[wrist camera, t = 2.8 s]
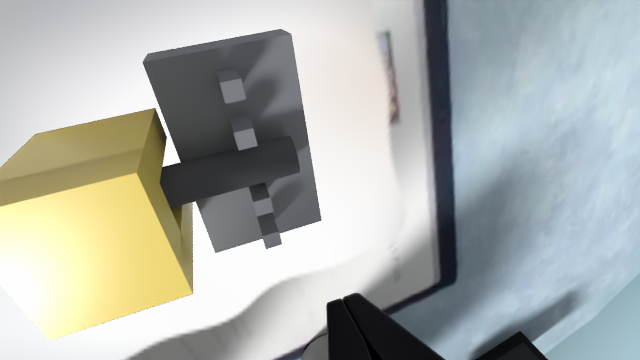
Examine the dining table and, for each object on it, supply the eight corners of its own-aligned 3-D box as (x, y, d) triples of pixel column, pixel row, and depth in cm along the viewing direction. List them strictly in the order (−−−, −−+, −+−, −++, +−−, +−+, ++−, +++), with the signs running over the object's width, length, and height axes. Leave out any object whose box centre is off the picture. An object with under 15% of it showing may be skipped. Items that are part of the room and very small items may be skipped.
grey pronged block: (311, 202, 22) (333, 241, 18) (213, 231, 20) (217, 278, 17) (281, 28, 16) (303, 40, 13) (147, 53, 15) (135, 72, 12)
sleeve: (192, 202, 19) (192, 293, 13) (93, 230, 18) (49, 340, 12) (155, 108, 16) (136, 172, 11) (35, 134, 15) (-55, 220, 10)
